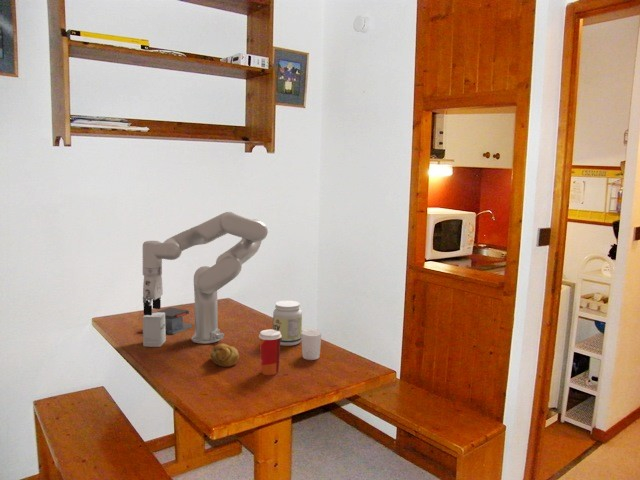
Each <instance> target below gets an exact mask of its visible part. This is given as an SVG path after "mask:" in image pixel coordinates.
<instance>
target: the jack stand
mask: <svg viewBox="0 0 640 480" xmlns="http://www.w3.org/2000/svg"><path fill="white" fill-rule="evenodd" d="M156 312H161V313H165V328H166V335H172V336H174V335H176V334H178V333H181V332H183V331H187V330H188V329H190V328H193V324H191V323H187V322H186V323H185V322H184V320H183V319H184V318H183V316H187V315H188V314H189V313H190V311H189V310H188V309H184V308H183V309H182V308H177V307H171V306H169V307H166V308H164V309H159V310H158V311H156Z"/></svg>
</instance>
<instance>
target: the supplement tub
mask: <svg viewBox="0 0 640 480" xmlns="http://www.w3.org/2000/svg"><path fill="white" fill-rule="evenodd" d="M274 308H275V309H274V311H273V314H272V318H273V319H272V321H273V322H272V326H273V327H272V330H277V331H280V333H281V335H282V337H281V340H280V346H283V347H284V346H286V347H290V346H291V347H292V346H296V345H298V344H300V343H302V337H301V332H302V331H303V324H302V323H303V311H302V309H301V303H300V302H299V301H296V300H279V301H276V302H275V307H274Z"/></svg>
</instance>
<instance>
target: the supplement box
mask: <svg viewBox="0 0 640 480" xmlns="http://www.w3.org/2000/svg"><path fill="white" fill-rule="evenodd" d="M142 336H143V337H142V341H143V343H142V345H143V347H151V348H152V347H154V348H155V347H156V348H157V347H158V348H159V347H161V346H162V345H164V343H165V342H167V341H166V336H167V334H166V328H165V313H161V312H157V311H155V312H153V311H152V315H143V316H142Z"/></svg>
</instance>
